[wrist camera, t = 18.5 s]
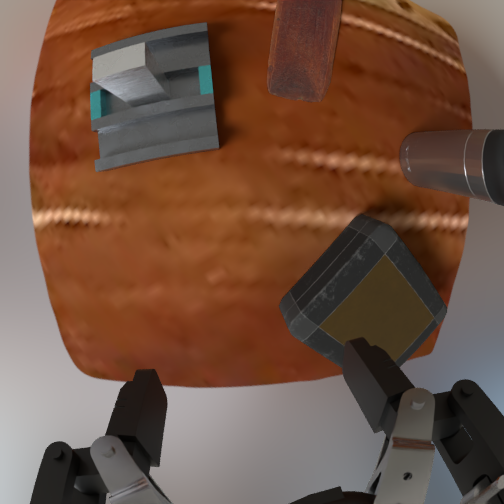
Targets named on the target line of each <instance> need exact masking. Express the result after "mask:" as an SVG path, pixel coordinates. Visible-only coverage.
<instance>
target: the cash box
mask: <svg viewBox="0 0 504 504" xmlns="http://www.w3.org/2000/svg"><path fill="white" fill-rule="evenodd" d="M279 308H280V310H281V312H282V315H283V317H284V320H285V322H286V324H287V327H288V329H289V331H290V333H291V334H292V335H293V336H294V337H295V338H297V339H298V340H300V341H301V342H303V343H304V344H306V345H307V346H309V347H310V348H312V349H313V350H315V351H317V352H318V353H320V354H321V355H323V356H324V357H326V358H327V359H329V360H331V361H332V362H334V363H335V364H337V365H338V366H340V367H342V366H343V357H344V348H345V343H346V341H349V340H352V339H356V338H360V337H364V338H365V339H366V341H367V342H368V343H369V344H370V346H374V345H377V346H378V347H380V348H382V349H384V350H385V351H386V352H387V353H388V354H389V356H390V357H391V359H393V361H394V362H395V363H396V366H398V367H400V366H401V365H402V364H403V363H404V362H405V361H406V360H407V359H408V358H409V357H410V356H411V355H412V354H413V353H414V352H415V351H416V350H417V349H418V348H419V347H420V346H421V345H422V343H423V342H424V341H425V340H426V339H427V338H428V337H429V336H430V334H431V333H432V332H433V331H434V330H435V329H436V327H437V326H438V325H439V324H440V322H441V321H442V320H443V319H444V317H445V315H446V313H447V307H446V305H445V303H444V302H443V300H442V298H441V297H440V295H439V294H438V292H437V290H436V289H435V287H434V286H433V284H432V283H431V281H430V280H429V278H428V277H427V275H426V274H425V272H424V271H423V269H422V267H421V265H420V264H419V263H418V262H417V260H416V259H415V258H414V256H413V255H412V253H411V252H410V251H409V249H408V248H407V247H406V245H405V244H404V242H403V241H402V240H401V238H400V237H399V236H398V235H397V233H396V232H395V231H394V229H393V228H392V227H391V226H390V225H388V224H385V223H383V222H381V221H378V220H376V219H373V218H371V217H368V216H365V215H363V214H361V215H359V216H357V217H355V218H354V219H353V220H352V221H351V223H350V224H349V225H348V226H347V227H346V228H345V230H344V231H343V232H342V233H341V234H340V235H339V237H338V238H337V239H336V240H335V241H334V242H333V243H332V245H331V246H330V247H329V248H328V249H327V250H326V251H325V252H324V254H323V255H322V256H321V257H320V258H319V259H318V260H317V261H316V263H315V264H314V265H313V266H312V267H311V268H310V269H309V270H308V271H307V272H306V274H305V275H304V276H303V277H302V278H301V279H300V280H299V281H298V282H297V283H296V284H295V285H294V287H293V288H292V289H291V290H290V291H289V292H288V293H287V294H286V295H285V296H284V297H283V298H282V300H281V303H280V305H279Z"/></svg>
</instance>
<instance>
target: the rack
mask: <svg viewBox="0 0 504 504" xmlns="http://www.w3.org/2000/svg"><path fill="white" fill-rule="evenodd" d="M143 42H145V43H146V45H147V47H148V48H149V50H150V51H151V53H152V55H153V56H154V58H155V60H156V61H157V63H158V64H159V66H160V68H161V69H162V71H163V73H164V74H165V76H166V78H167V79H168V81H169V84H170V98H171V99H170V100H165V101H160V102H155V103H150V104H146V105H142V106H138V107H133V106H131V105H130V104H128V103H126V102H125V101H123V100H122V99H120V98H119V97H117V96H116V95H114V94H113V93H111V92H109V91H108V90H106V89H105V88H103V87H102V86H100V85H98V84H97V83H95V82H93V83H90V101H91V125H92V131H94V132H98V138H99V149H100V159H98V160H95V169H96V172H101V171H109V170H113V169H117V168H121V167H125V166H130V165H134V164H139V163H143V162H148V161H153V160H158V159H163V158H169V157H174V156H180V155H186V154H192V153H199V152H205V151H213V150H219V142H218V133H217V124H216V115H215V105H214V95H213V85H212V75H211V65H210V55H209V43H208V31H207V22H206V23H198V24H191V25H185V26H179V27H173V28H168V29H163V30H159V31H154V32H150V33H146V34H142V35H138V36H134V37H131V38H127V39H124V40H121V41H117V42H114V43H111V44H108V45H105V46H102V47H100V48H97V49H94V50H92V52H91V59H92V60H93V58H95V57H97V56H100V55H103V54H106V53H109V52H112V51H115V50H118V49H122V48H125V47H129V46H132V45H136V44H140V43H143Z"/></svg>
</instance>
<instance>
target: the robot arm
mask: <svg viewBox="0 0 504 504" xmlns="http://www.w3.org/2000/svg"><path fill="white" fill-rule="evenodd" d="M400 164H401V168H402V171H403V173H404V175H405V177H406V178H407V179H408V181H409V182H411V183H412V184H413V185H415V186H419V187H424V188H429V189H434V190H439V191H444V192H449V193H453V194H458V195H462V196H467V197H471V198H475V199H479V200H484V201H487V202H491V203H495V204H498V205H502V206H504V130H486V129H484V130H447V131H429V132H416V133H411V134H410V135H408V136H407V137H406V138H405V139H404V141H403V143H402V145H401V149H400ZM342 371H343V376H344V379H345V381H346V383H347V385H348V386H349V388H350V390H351V392H352V394H353V395H354V397H355V399H356V401H357V403H358V404H359V406H360V408H361V410H362V412H363V413H364V415H365V417H366V419H367V421H368V423H369V424H370V426H371V428H372V430H373V432H374V433H377V432H379V431H382V430H383V431H384V432H385V434H386V436H385V438H384V441H383V444H382V448H381V451H380V454H379V457H378V460H377V464H376V466H375V469H374V472H373V474H372V477H371V479H370V481H369V483H368V485H367V488H366V490H365V492H364V493H363V492H355V491H346V492H342V490H341V487H340V486H339V487H336V488H332V489H329V490H325V491H322V492H318V493H314V494H310V495H308V496H306V497H304V498H301V499H299V500H297V501H294V502H292V503H290V504H424V500H425V497H426V493H427V489H428V484H429V480H430V475H431V470H432V464H433V459H434V452H435V446H436V448H437V449H438V451H439V453H440V455H441V456H442V458H443V460H444V462H445V463H446V465H447V467H448V469H449V471H450V473H451V474H452V476H453V478H454V480H455V482H456V484H457V486H458V488H459V490H460V491H461V493H462V495H463V498H462V499H461V502H460V504H504V416H503V415H502V414H501V412H500V411H499V410H498V409H497V407H496V406H495V405H494V404H493V402H492V401H491V400H490V399H489V398H488V397H487V396H486V394H485V393H484V392H483V390H482V389H481V388H480V387H479V386H478V385H477V384H476V383H475V382H473V381H471V380H466V379H465V380H460V381H457V382H456V383H455V384H454V385H453V387H452V389H451V391H448V392H443V393H437V394H432V393H431V392H429V391H428V390H426V389H423V388H415V387H414V385H413V384H412V383H411V382H410V381H409V379H408V378H407V377H406V375H405V374H404V373H403V372H402V371H401V370H400V368H399V367H398V366H396V363H395V362H394V361H393V359H391V357H390V356H389V354H388V353H387V352H386V351H385V350H384V349H382V348H380V347H378V346H377V345H374V346H370V344H369V343H368V342H367V341H366V339H365V338H364V337H360V338H356V339H352V340H349V341H346V343H345V348H344V357H343V366H342ZM166 411H167V397H166V394H165V391H164V389H163V386H162V384H161V382H160V379H159V377H158V375H157V372H156V370H155V369H138V370H136V372H135V375H134V378H133V381H127V382H126V383H125V385H124V386H123V387H122V388H121V389H120V392H119V395H118V398H117V401H116V403H115V408H114V410H113V412H112V415H111V418H110V422H109V425H108V428H107V431H106V434H105V436H102V437H99V438H98V439H96V440H95V441H94V442H93V444H92V445H91V447H88V448H80V449H72V448H71V447H70V446H69V445H68V444H66V443H65V442H60V441H59V442H54V443H52V444H50V445H49V446H48V447H47V449H46V450H45V453H44V456H43V459H42V462H41V465H40V468H39V472H38V475H37V479H36V482H35V486H34V490H33V493H32V498H31V501H30V504H105V503H106V494H107V493H110V494H111V497H109V500H110V502H111V504H173V503H172V502H171V501H170V499H169V498H168V497H167V496H166V495H165V493H164V492H163V491H162V490H161V488H160V487H159V486H158V485H157V483H156V482H155V481H154V479H153V478H152V477H151V475H150V474H149V471H150V466H152V467H159V466H160V457H161V448H162V440H163V432H164V426H165V419H166ZM464 428H465V429H464ZM466 431H467V432H468V433H467V432H466ZM468 434H469V435H470V436H469V435H468ZM470 437H471V438H472V439H471V438H470ZM472 440H473V441H472ZM431 441H433V442H434V444H435V446H434V444H431Z"/></svg>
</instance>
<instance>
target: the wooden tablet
mask: <svg viewBox="0 0 504 504" xmlns="http://www.w3.org/2000/svg"><path fill="white" fill-rule="evenodd" d="M341 5H342V0H278V1H277V6H276V11H275V19H274V25H273V32H272V39H271V47H270V55H269V62H268V64H269V67H268V74H267V86H268V91H269V93H271V94H273V95H276V96H278V97H284V98H286V99H291V100H298V99H301V100H303V101H307V102H321V101H322V100H323V98H324V96H325V94H326V92H327V90H328V87H329V84H330V80H331V75H332V67H333V60H334V54H335V48H336V41H337V36H338V30H339V23H340V15H341Z"/></svg>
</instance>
